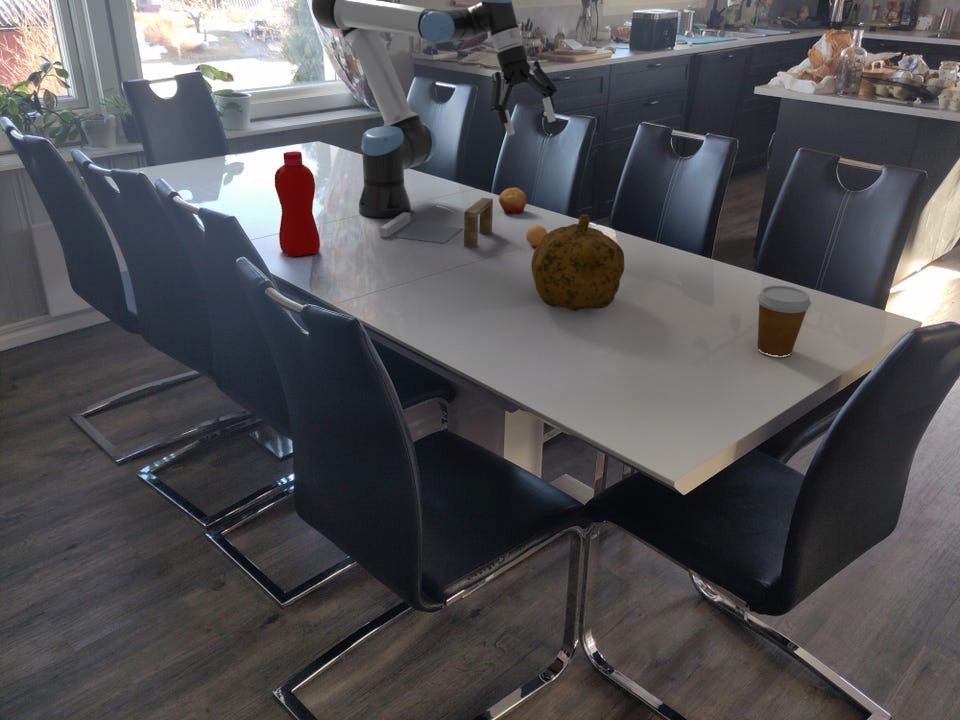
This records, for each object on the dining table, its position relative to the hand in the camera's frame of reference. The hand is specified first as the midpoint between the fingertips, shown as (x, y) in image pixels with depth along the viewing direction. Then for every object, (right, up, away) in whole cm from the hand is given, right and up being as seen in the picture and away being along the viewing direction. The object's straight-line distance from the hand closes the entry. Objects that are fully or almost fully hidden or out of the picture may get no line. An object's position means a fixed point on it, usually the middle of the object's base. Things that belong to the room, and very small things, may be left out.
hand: (532, 128), depth 225 cm
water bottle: (-60, -35, -15) cm, 71 cm away
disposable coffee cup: (+43, -61, -64) cm, 98 cm away
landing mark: (-28, -28, 0) cm, 40 cm away
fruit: (-5, -19, +20) cm, 28 cm away
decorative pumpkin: (+7, -50, -43) cm, 66 cm away
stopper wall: (-37, -27, +3) cm, 46 cm away
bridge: (-15, -30, -4) cm, 34 cm away
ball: (+1, -30, -9) cm, 32 cm away
